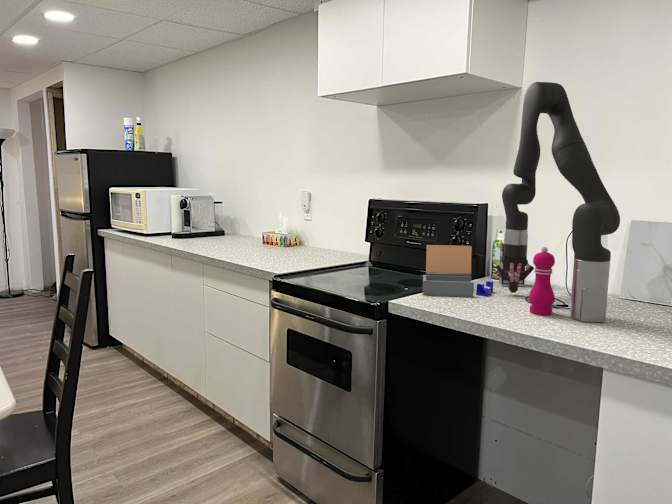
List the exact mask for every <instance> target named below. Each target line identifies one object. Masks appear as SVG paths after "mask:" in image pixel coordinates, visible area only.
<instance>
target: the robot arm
mask: <svg viewBox="0 0 672 504" xmlns="http://www.w3.org/2000/svg"><path fill="white" fill-rule="evenodd" d="M522 106H523V107H522V114H521V123H520V124H521V126H520V139H519V145H518V150H517V155H516V158H515V160H514V161H515V163H514V165H513V170H512V171H513V175H514V176H515V177H517V178H520V179H521V183H508V184H506V185H505V186H504V187H503V190H502V191H501V200H502V204H503V208H504V209H503V210H504V213H505V218H506V219H505V232H504V238H503V243H504V256H503V259H502V262H501V263H500V262H499V263H498V264H495V265H494V266H495V268H496V269H497V271H498V272H500V274H501V275H502V276H503V277H504V279H505V280H508V281H509V286H508V291H509V292H510V293H514V294H516V293H517V292H518V289H519V286H518V282H519V281H523V280H524V279H525V280H526V278H527V277H528V276H529V275H530V274H531V273H532V272H534V271H535V269H534V268H535V267H534V266H533V265H530V264H529V261H528V259H527V258H528V245H529V244H528V241H529V239H528V238H529V234H528V228H529V215H528V213H526V212H524V211H520V210H519V205H529V204H531V203H532V202H533V200H534V199H535V197H536V193H537V190H536V187H537V186H536V181H537V180H536V179H537V176H536V175H537V174H536V173H537V170H538V169H537V168H538V166H539V162H540V158H541V144H540V139H539V137H538V136H539V135H538V121H539V119H540V115H541V114H547V115H548V117H549V118H550V120H551V123H552V125H553V129H554V133H553V136H552V137H553V138H552V143H551V156H552V157H553V160H554V163H555V164H556V167H557V170H558V172H559V173H560V175H561V176H562V177H564V179H565V180H566V181H567V182H568V183H569V184H570V185H571V186H572V187H574V188H575V190H577V192H578V193H579V194H580V196H581V197H582V199H583V201H584V203H582V204H579V206H577V207H576V209H575V211H574V212H573V217H572V223H571V224H572V225H571V228H572V229H571V230H572V231H571V247H572V250H573V252H574V253H573V271H572V283H571V294H570V295H571V296H570V297H571V298H570V309H569V310H570V311H569V312H570V313H569V317H571V318H572V319H575V320H577V321H580V322H586V323H605V322H606V319H607V304H608V294H609V293H608V291H609V278H610V270H611V269H610V267H611V257H612V256H611V250H610V249H608V248H606V247H605V246H604V245H603V244H602V236H607V235H612V234H614V233H615V232H617V230H618V229H619V227H620V224H621V215H620V212H619V209H618V207H617V205H616V204H615V202H614V200H613V199H612V197H611V195H610V194H609V192H608V190H607V188H606V187H605V185H604V183H603V181H602V179H601V177H600V175H599V172H598V170H597V169H596V168H597V167H596V166H595V164H594V162H593V159H592V156H591V154H590V151H589V148H588V147H587V145H586V141H584V138H583V136H582V134H581V132H580V129H579V127H578V123H577V121H576V119H575V117H574V113H573V111H572V108H571V104H570V101H569V98H568V94H567V91H566V90H565V87H564V86H562V84H560V83H557V82H548V81H535V82H532V83H531V84H530V85H529V86H528V87H527V89H526V92H525V94H524V98H523V104H522ZM503 265H504V266H505V268H506V269H507V270H508V273H509V277H508V276H507V275H506V274H505V273H504V272H503V270H502V269H503ZM524 268H525V271H524V273H523V274H522V275H521V276H520V272H521V271H522V270H523V269H524ZM514 272H515V273H514ZM514 274H515V275H514ZM519 276H520V277H519Z"/></svg>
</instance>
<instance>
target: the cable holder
mask: <svg viewBox="0 0 672 504" xmlns="http://www.w3.org/2000/svg"><path fill="white" fill-rule="evenodd" d="M493 292H494V281H493V280H492V281H491V280H486V281H485V284H484V283H476V293H475V294H476V296H481V297H488V295H489V296H491V295H492V293H493Z"/></svg>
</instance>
